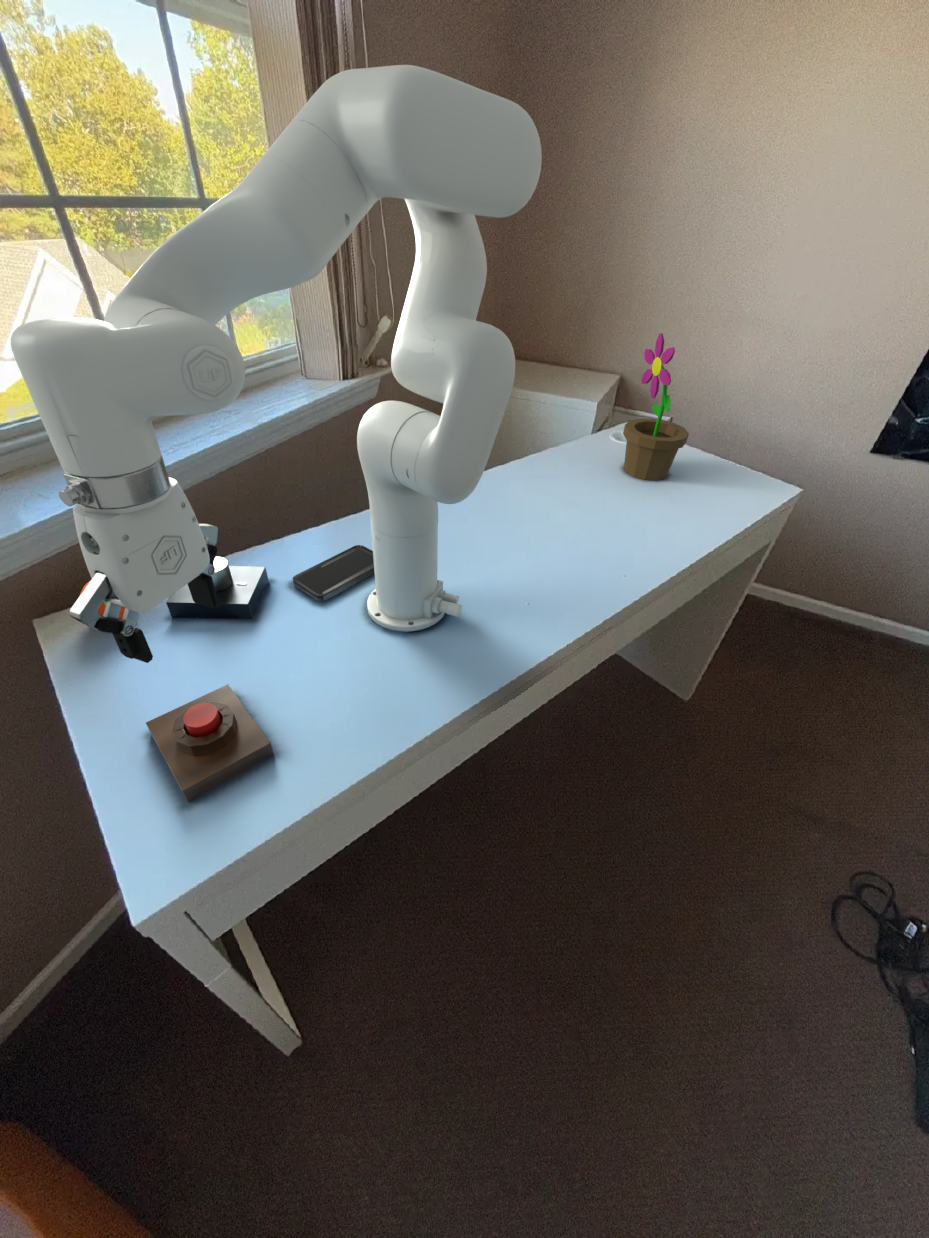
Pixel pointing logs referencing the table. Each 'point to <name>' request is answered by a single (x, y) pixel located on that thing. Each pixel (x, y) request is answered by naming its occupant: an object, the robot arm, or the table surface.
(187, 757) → the button block
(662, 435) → the flowerpot
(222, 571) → the hob knob
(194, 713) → the button
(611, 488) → the table surface
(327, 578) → the phone
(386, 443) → the robot arm
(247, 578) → the panel
